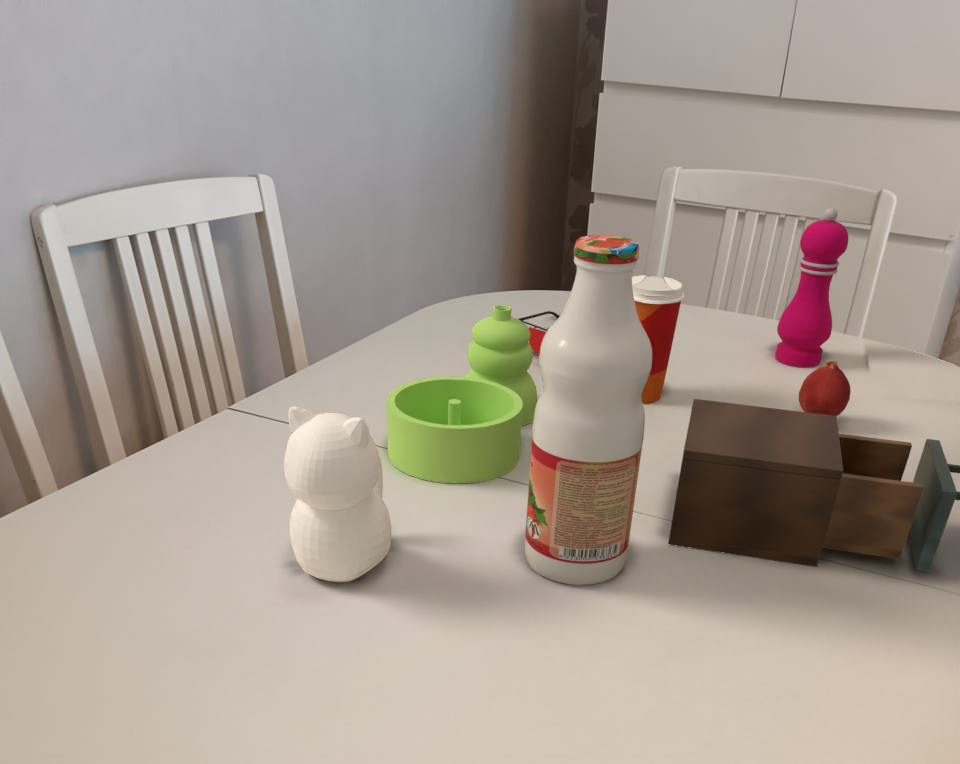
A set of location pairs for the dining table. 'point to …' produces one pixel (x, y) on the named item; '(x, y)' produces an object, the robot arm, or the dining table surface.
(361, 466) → the cat figurine
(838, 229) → the pepper mill
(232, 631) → the dining table surface
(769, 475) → the drawer cabinet
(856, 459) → the wooden drawer
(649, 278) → the paper cup
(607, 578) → the fruit juice
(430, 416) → the green round pieces
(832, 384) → the onion
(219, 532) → the dining table surface
